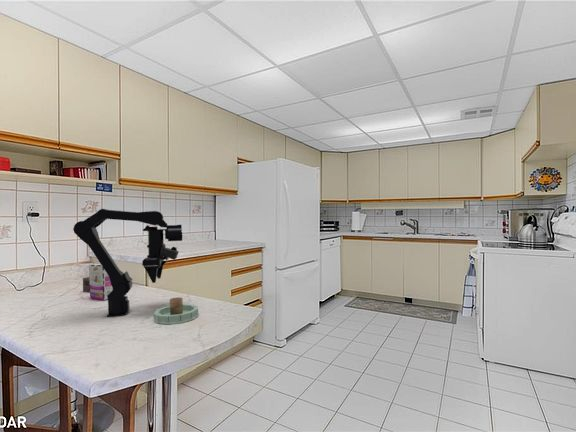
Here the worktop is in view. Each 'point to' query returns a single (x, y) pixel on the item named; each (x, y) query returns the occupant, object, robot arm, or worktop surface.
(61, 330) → the worktop surface
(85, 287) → the box
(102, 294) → the candy bar box
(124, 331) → the worktop surface
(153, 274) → the robot arm
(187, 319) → the dish
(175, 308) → the brown cylinder
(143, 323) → the worktop surface
